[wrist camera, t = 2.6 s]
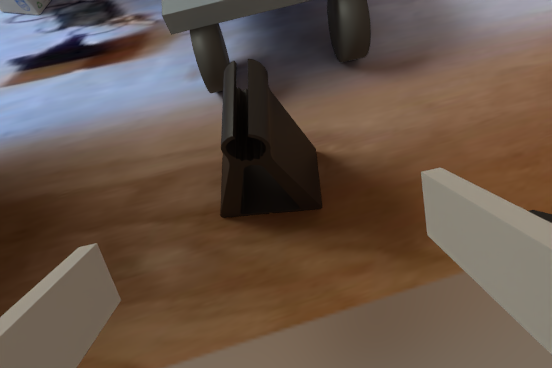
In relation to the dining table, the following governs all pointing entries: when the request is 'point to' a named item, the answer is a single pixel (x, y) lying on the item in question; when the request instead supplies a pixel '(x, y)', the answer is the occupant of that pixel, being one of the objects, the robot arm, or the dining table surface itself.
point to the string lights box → (24, 6)
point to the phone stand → (263, 151)
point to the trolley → (239, 3)
